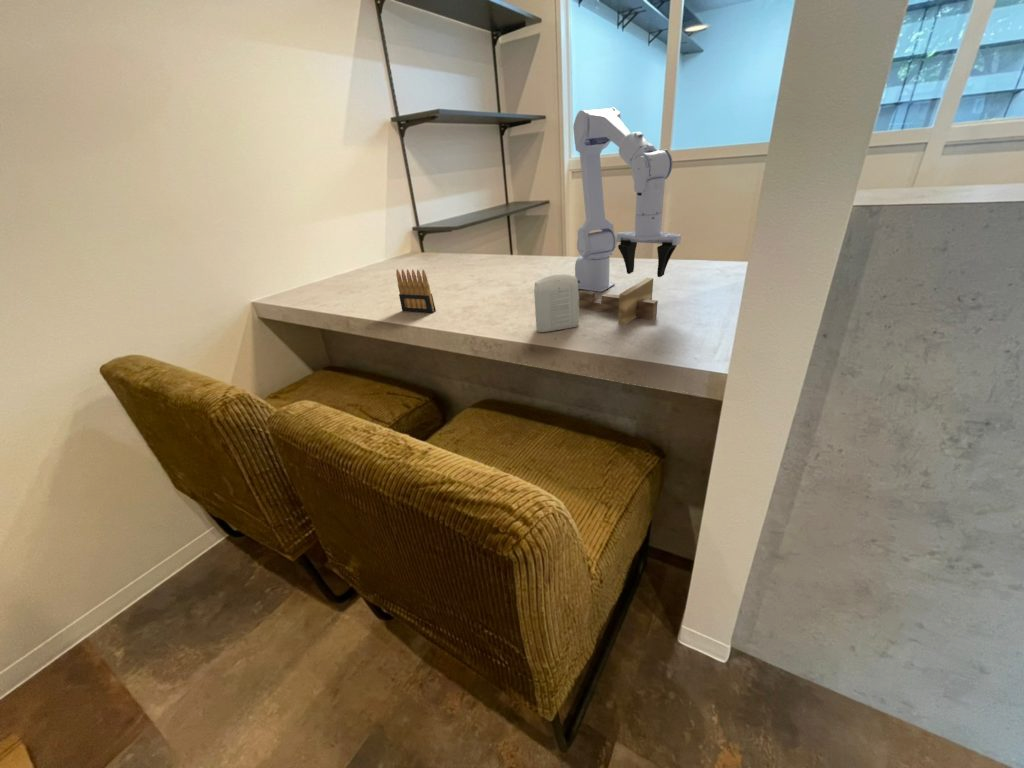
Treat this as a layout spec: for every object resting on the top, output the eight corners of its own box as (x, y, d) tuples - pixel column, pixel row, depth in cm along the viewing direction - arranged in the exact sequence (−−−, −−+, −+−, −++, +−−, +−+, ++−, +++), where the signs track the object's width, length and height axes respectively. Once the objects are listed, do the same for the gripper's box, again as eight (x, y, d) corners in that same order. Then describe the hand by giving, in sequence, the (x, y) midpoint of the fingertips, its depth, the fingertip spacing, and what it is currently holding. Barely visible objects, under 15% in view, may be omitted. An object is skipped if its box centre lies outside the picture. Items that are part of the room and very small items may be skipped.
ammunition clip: (436, 311, 117) (427, 268, 111) (432, 313, 116) (423, 270, 110) (405, 309, 121) (396, 268, 116) (402, 311, 120) (392, 269, 114)
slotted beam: (579, 307, 108) (579, 292, 106) (583, 305, 109) (583, 290, 107) (652, 319, 96) (653, 303, 94) (656, 317, 97) (657, 300, 95)
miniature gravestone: (575, 321, 100) (573, 269, 94) (581, 327, 96) (580, 274, 90) (534, 328, 99) (530, 277, 93) (539, 334, 95) (535, 281, 89)
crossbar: (618, 323, 96) (619, 294, 93) (645, 305, 105) (647, 277, 101) (624, 324, 95) (625, 295, 92) (651, 306, 104) (653, 278, 100)
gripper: (610, 215, 93) (609, 275, 100) (673, 216, 85) (668, 282, 91) (625, 210, 98) (623, 268, 105) (687, 211, 89) (680, 273, 96)
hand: (645, 274), depth 98 cm, fingers open, 7 cm apart
